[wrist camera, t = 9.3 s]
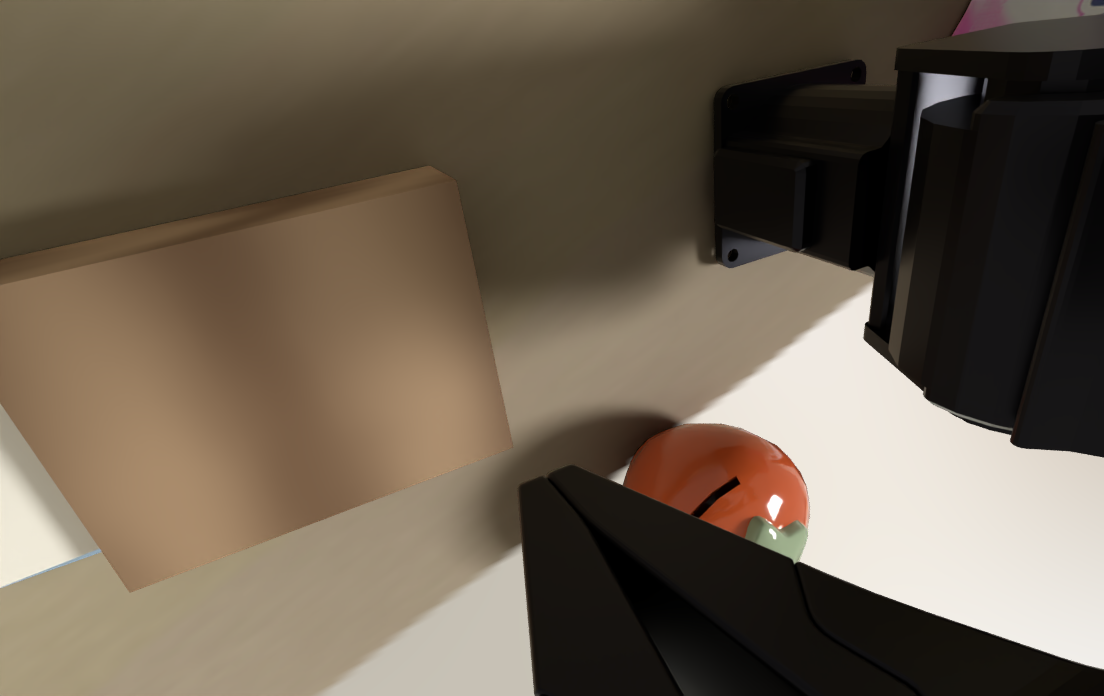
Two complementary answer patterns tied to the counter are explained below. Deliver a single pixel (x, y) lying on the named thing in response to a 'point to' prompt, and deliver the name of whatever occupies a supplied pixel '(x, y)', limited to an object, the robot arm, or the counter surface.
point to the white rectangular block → (33, 513)
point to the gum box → (1022, 12)
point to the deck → (251, 367)
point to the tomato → (726, 483)
